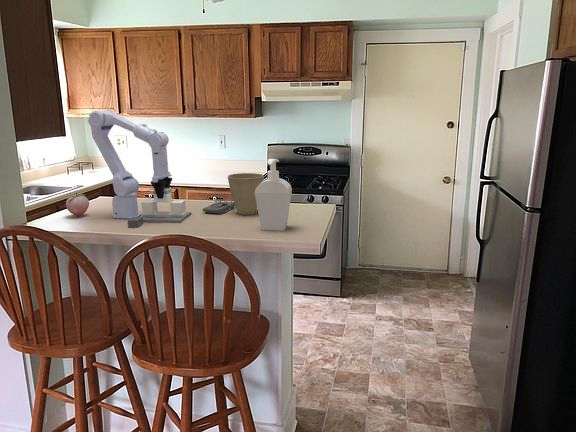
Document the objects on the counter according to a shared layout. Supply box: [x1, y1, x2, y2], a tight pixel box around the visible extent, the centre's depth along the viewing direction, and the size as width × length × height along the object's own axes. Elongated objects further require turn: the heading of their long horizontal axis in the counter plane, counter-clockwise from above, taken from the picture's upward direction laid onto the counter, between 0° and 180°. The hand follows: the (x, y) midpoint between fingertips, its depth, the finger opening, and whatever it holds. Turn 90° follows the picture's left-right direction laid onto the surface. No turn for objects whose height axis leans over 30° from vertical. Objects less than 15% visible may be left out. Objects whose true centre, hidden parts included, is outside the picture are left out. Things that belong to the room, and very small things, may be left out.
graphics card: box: [202, 199, 236, 214], centre depth 208 cm, size 17×4×12 cm
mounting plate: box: [140, 199, 192, 224], centre depth 194 cm, size 18×14×7 cm
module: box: [152, 187, 173, 203], centre depth 193 cm, size 6×5×5 cm
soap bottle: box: [255, 158, 293, 232], centre depth 174 cm, size 12×10×26 cm
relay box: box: [127, 216, 144, 229], centre depth 184 cm, size 4×6×3 cm, turn 179°
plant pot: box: [227, 172, 264, 216], centre depth 200 cm, size 15×15×16 cm
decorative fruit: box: [65, 192, 90, 217], centre depth 199 cm, size 9×8×10 cm
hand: (163, 197), depth 193 cm, fingers closed on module, 5 cm apart
